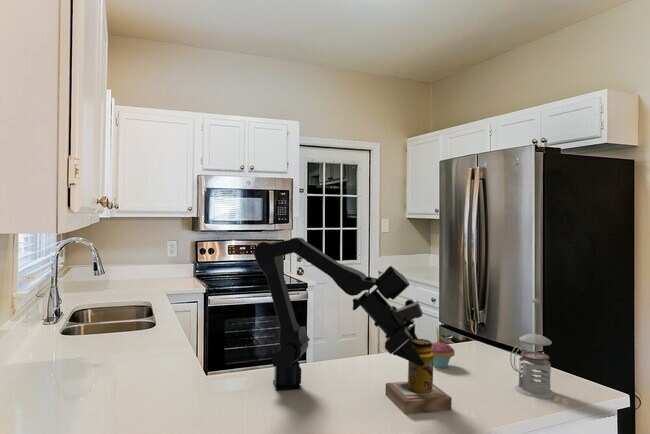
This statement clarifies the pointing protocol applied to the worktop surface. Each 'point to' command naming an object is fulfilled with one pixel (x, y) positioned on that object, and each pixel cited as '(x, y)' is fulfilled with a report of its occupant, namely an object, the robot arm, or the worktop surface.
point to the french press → (534, 367)
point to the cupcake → (441, 353)
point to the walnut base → (418, 400)
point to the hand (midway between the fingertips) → (423, 359)
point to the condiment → (420, 371)
